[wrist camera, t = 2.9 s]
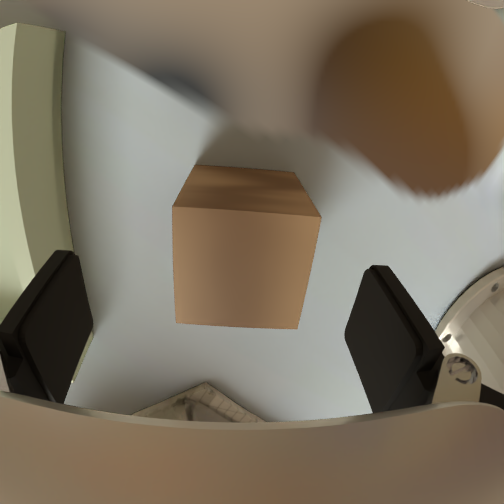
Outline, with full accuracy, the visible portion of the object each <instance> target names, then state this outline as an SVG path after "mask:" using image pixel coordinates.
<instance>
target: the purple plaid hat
mask: <svg viewBox="0 0 504 504" xmlns="http://www.w3.org/2000/svg"><path fill="white" fill-rule="evenodd" d="M467 1H469V2H471V3H473V4H475V5H479V6H482V7H485V8H492V9H499V8H504V0H467Z"/></svg>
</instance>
